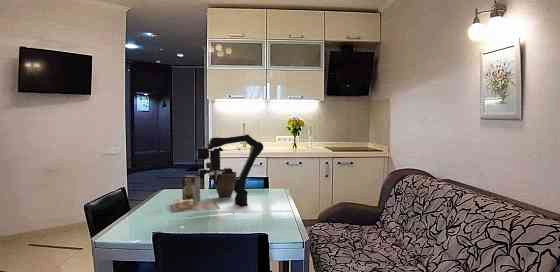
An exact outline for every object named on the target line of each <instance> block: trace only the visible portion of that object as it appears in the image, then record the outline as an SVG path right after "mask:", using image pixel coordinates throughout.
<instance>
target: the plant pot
mask: <svg viewBox="0 0 560 272" xmlns="http://www.w3.org/2000/svg"><path fill="white" fill-rule="evenodd" d="M214 175H215V181H216V173H214ZM234 178H236V179H237V172H236V171H232V173H230V174H227V173H226V172H222V175H221V176H220V178H219V180H218V183H217V186H215V190H216V192H217V193H216V194H217V195H218V198H219V199H224V198H232V196H233V193H234V190H233V189H232V185H233V184H232V183H233V181H234Z"/></svg>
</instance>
